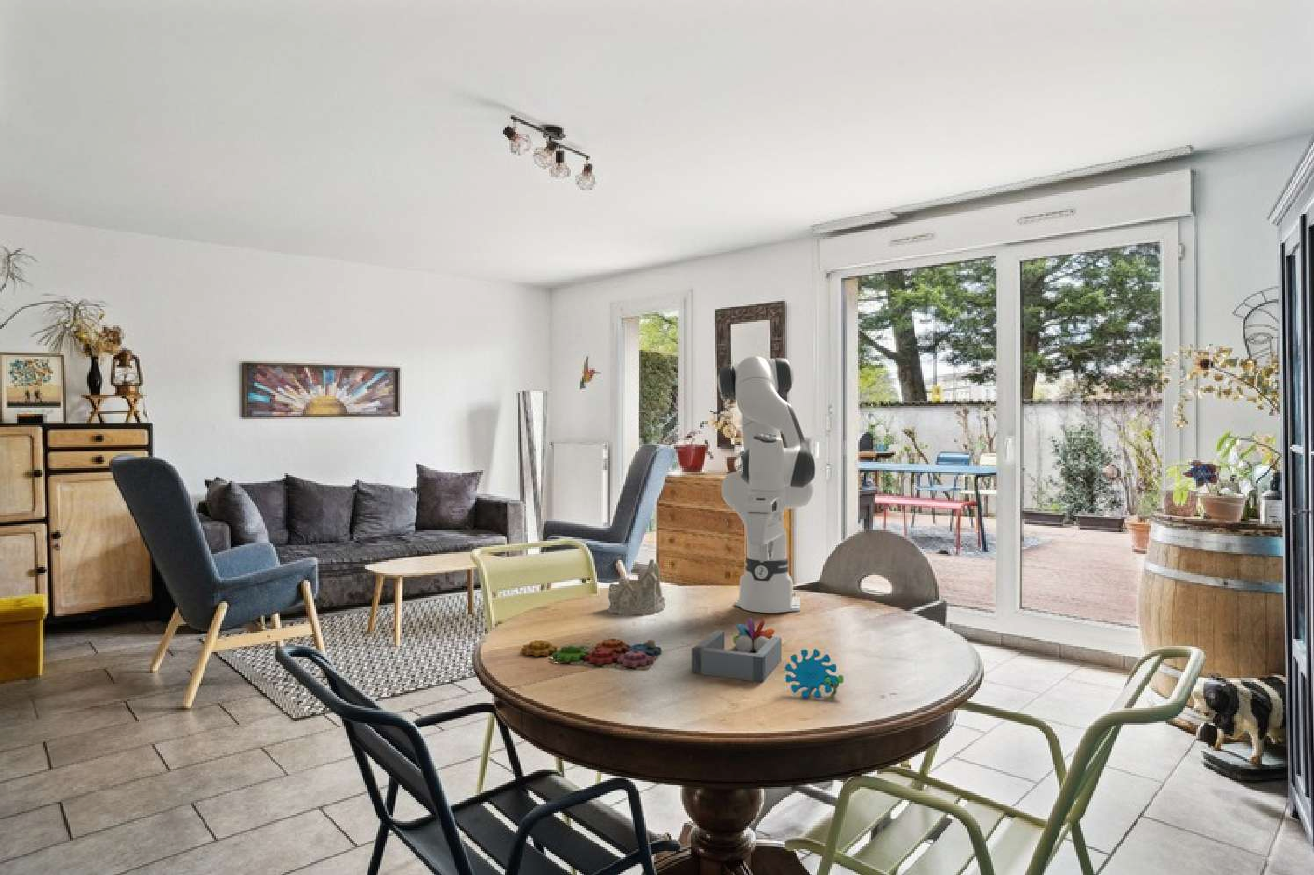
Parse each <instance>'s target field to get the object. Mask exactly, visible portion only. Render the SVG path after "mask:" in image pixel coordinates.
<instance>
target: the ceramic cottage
mask: <svg viewBox="0 0 1314 875" xmlns="http://www.w3.org/2000/svg"><path fill="white" fill-rule="evenodd" d="M660 573H661V572H660V570H659V564H658V563H657V562H655V559H654V558H652V559H651V558H650V559H649V562H648V566H647V567H646V569H645V570H638V571H637V579H630V578H629V577H626V579H625V578H624V577H619V578H618V583H610V584H609V586H608V593H607V599H608V601H609V605H608V608H607V613H609V612H610V613H611V612H612V613H611V614H616V613H623V614H622V615H624V614H625V615H626V614H631V615H632V616H635V615H634V614H648V615H656V614H655V613H657V614H659V612H660V613H662V612H661V611H663V610H664V611H665V608H666V603H665V599H666V598H665V597H664V596H663V589H662V586H661V576H660V575H661V574H660ZM624 579H625V581H624ZM664 611H663V612H664ZM631 615H630V616H631Z"/></svg>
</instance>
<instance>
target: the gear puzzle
mask: <svg viewBox="0 0 1314 875" xmlns="http://www.w3.org/2000/svg"><path fill="white" fill-rule="evenodd" d="M591 644H592V642H583V643H571V644H570V645H567V646H566V645H563V646H562V647H561V648H560V649H558V646H556V645H553V644H552V643H550V642H549V641H547V640H533V641H530V643H529V644H523V647H522V648H521V650H520V652H521V653H525V656H534V657H540V656H545V657H553V659H550V662H551V661H552V662H558V663H562V664H563V662H562V661H565V662H564V663H566V662H571V663H570V664H573V665H572V666H583V665H590V666H589V667H592V666H593V667H594V666H602V668H605V667H611V668H610V669H614V668H613V667H616V668H615V669H618V668H620V669H621V670H627V669H628V668H627V667H632V669H635V671H649V670H650V669H651V668H652V666H651V665H654V663H656V661H657V660H658V658H659V655H661V654H662V653H663V650H662V648H661V647H660V646H657V645H656V642H655V640H653V639H649V640H647V641H646V642H644V643H642V644H641V643H637V644H633V645H630V644H627V643H626V642H625V641H623V640H621V639H618V638H607V639H604V640H603V641H602V642H600V643H597V644H593V645H591ZM555 650H556V651H555ZM549 653H554V654H551V655H550V654H549ZM549 655H550V656H549ZM620 669H619V670H620Z"/></svg>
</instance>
